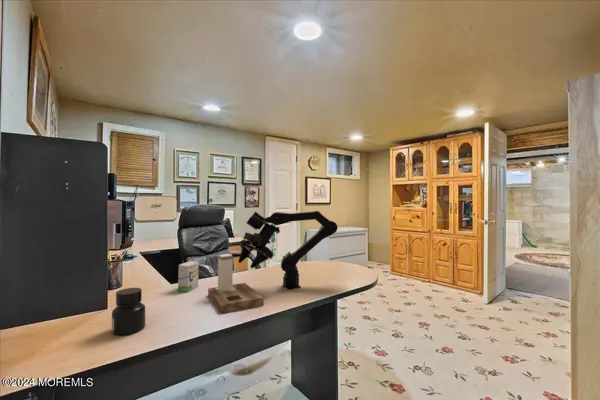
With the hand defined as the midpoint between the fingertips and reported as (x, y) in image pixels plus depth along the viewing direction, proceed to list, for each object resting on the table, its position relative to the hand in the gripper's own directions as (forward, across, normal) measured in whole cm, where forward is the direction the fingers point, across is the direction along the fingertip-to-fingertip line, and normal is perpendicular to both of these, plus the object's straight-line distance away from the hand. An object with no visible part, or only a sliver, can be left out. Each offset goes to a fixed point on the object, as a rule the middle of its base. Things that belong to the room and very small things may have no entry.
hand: (244, 265), depth 122 cm
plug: (+12, -1, -1) cm, 12 cm away
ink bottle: (+38, +5, -27) cm, 47 cm away
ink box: (+21, -21, -3) cm, 30 cm away
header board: (+14, +6, +1) cm, 15 cm away
